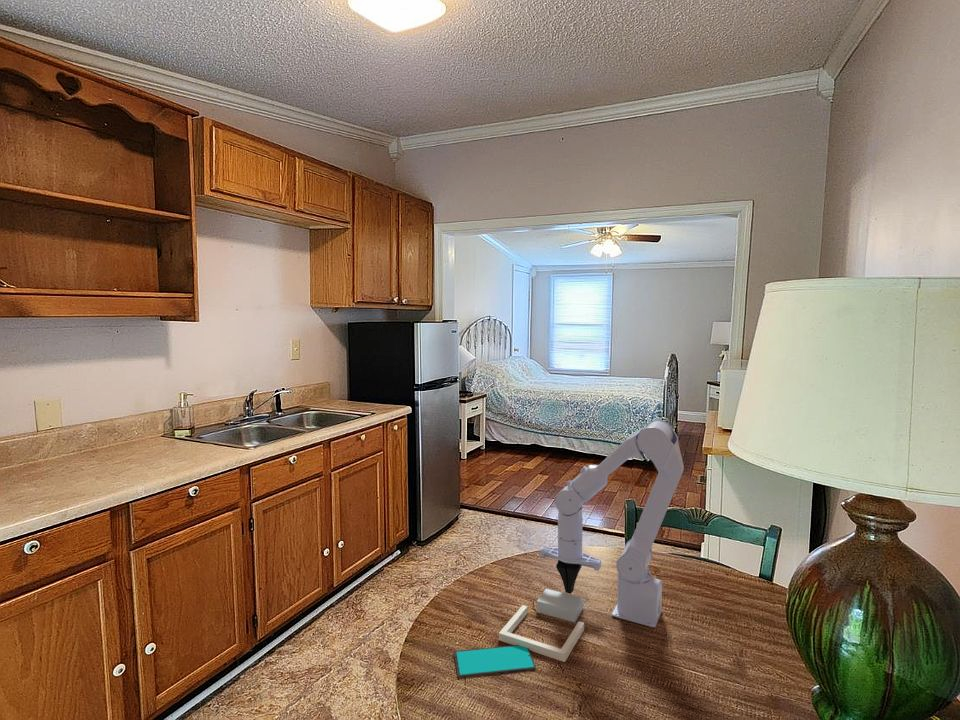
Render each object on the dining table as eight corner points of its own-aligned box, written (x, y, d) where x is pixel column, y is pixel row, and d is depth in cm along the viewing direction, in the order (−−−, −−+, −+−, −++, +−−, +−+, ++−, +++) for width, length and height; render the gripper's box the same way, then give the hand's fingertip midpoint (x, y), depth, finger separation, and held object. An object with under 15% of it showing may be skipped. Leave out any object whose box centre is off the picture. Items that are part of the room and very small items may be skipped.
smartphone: (453, 651, 106) (527, 644, 108) (453, 655, 106) (527, 647, 108) (457, 676, 99) (536, 667, 101) (457, 680, 99) (536, 672, 101)
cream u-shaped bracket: (584, 629, 114) (584, 622, 113) (564, 662, 103) (564, 654, 103) (522, 611, 121) (522, 604, 120) (498, 640, 110) (498, 632, 110)
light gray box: (582, 610, 122) (583, 597, 121) (575, 624, 116) (575, 611, 116) (545, 600, 126) (545, 588, 126) (536, 613, 121) (536, 600, 120)
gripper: (605, 536, 125) (604, 591, 126) (547, 524, 132) (547, 576, 134) (596, 548, 119) (595, 605, 120) (536, 535, 126) (536, 589, 127)
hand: (569, 591), depth 127 cm, fingers closed
